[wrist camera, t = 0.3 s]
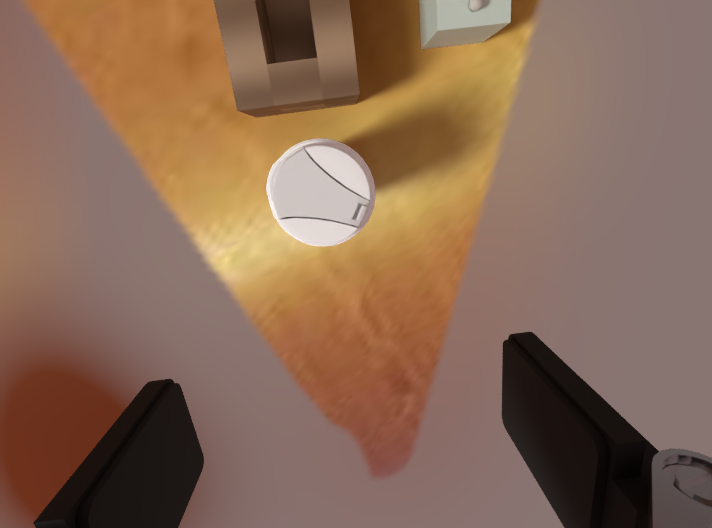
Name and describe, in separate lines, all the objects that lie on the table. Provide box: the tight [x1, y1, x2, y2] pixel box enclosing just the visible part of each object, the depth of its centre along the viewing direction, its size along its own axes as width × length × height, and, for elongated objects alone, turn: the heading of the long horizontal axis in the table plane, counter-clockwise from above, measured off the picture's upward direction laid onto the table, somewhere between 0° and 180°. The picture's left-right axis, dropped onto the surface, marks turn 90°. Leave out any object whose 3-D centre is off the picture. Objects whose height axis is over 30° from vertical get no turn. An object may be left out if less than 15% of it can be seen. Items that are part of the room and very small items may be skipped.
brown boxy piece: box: [214, 0, 360, 117], centre depth 28 cm, size 15×10×10 cm, turn 7°
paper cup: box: [266, 139, 375, 246], centre depth 31 cm, size 8×8×14 cm
